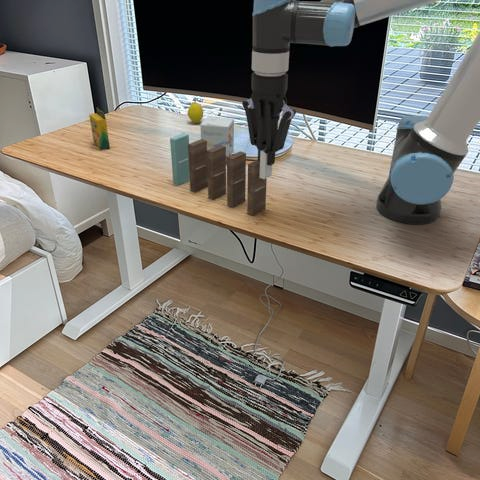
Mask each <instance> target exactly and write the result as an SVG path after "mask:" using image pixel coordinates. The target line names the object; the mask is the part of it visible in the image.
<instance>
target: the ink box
mask: <svg viewBox="0 0 480 480" xmlns="http://www.w3.org/2000/svg"><path fill="white" fill-rule="evenodd" d="M199 127H200V139H203V140H206V141H207V150H209V149H212V148H214V147H217V146H219V145H222V146H225V147H226V165H227V157H228V156H231V155H232V153H233V151H234V147H235V144H234V141H235V140H234V139H235V136H234V135H235V118H232V117H220V116H210V115H207V117H206V118H205V119H204V120H203V121H202V122H201V123H200V125H199Z"/></svg>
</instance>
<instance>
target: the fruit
mask: <svg viewBox="0 0 480 480" xmlns="http://www.w3.org/2000/svg"><path fill="white" fill-rule="evenodd" d="M187 117H188V119H189V120H190V121H191V122H192V123H194V124H197V123H199V122H201V120H202V119H203V118H204V109H203V106H202V105H201V104H199V103H197V102H196V101H193V103H192V104H190V105H189V106H188V110H187Z"/></svg>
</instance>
